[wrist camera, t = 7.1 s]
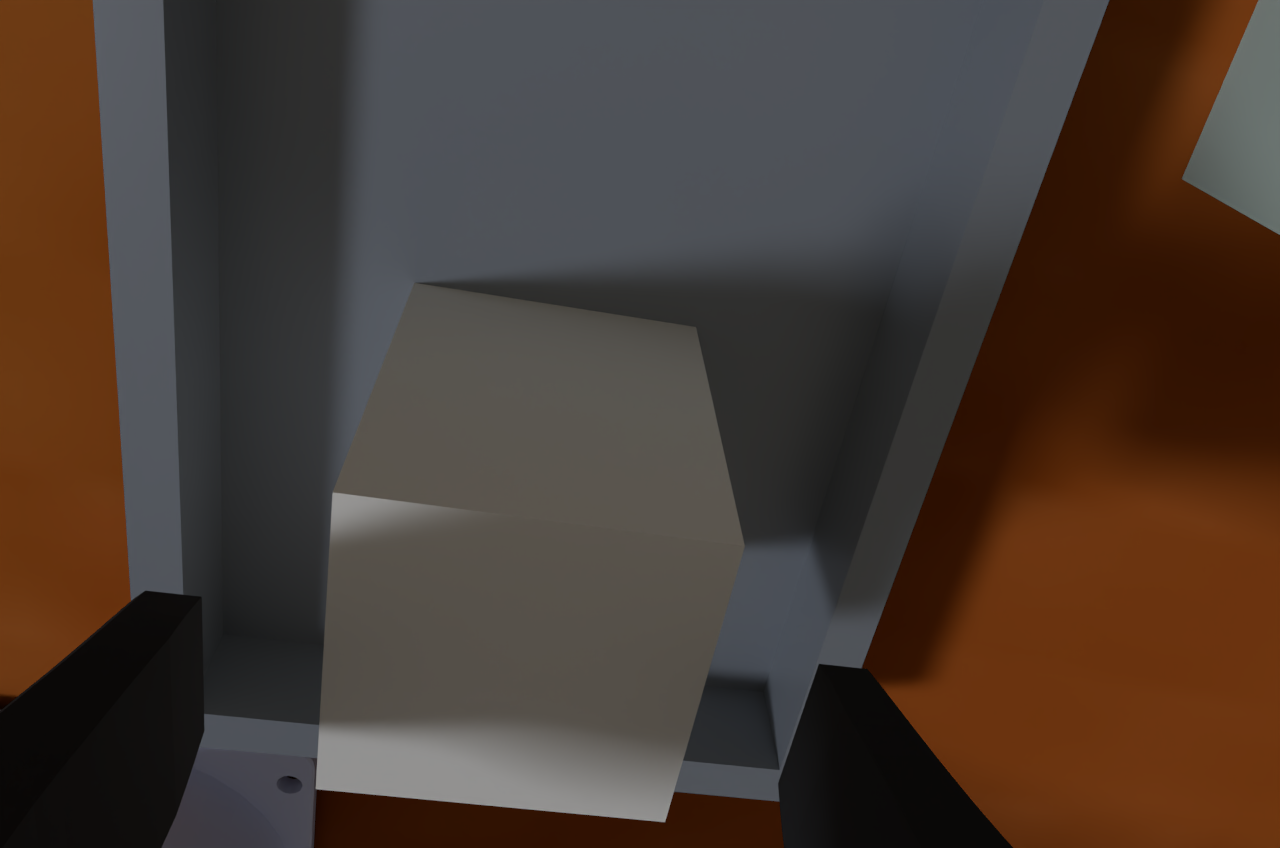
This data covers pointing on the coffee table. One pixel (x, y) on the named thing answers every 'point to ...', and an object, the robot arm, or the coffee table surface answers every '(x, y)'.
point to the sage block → (1246, 126)
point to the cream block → (526, 561)
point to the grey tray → (562, 279)
